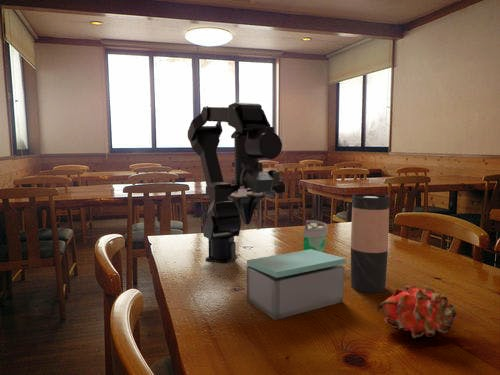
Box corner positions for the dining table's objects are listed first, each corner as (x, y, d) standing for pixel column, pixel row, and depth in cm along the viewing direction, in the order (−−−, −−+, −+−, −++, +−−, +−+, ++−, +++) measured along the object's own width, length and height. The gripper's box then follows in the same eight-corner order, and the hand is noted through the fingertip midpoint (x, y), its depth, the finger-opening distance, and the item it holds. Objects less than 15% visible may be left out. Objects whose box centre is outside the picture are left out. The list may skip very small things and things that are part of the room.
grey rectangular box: (246, 300, 77) (246, 266, 76) (310, 285, 85) (311, 254, 84) (275, 320, 68) (275, 281, 67) (342, 301, 76) (343, 267, 75)
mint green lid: (246, 265, 76) (246, 260, 76) (311, 253, 84) (310, 249, 84) (276, 277, 67) (276, 272, 67) (345, 263, 75) (345, 258, 75)
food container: (327, 270, 95) (328, 230, 94) (302, 268, 97) (303, 229, 95) (328, 256, 107) (328, 220, 106) (305, 254, 109) (306, 219, 107)
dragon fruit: (462, 351, 61) (381, 348, 65) (452, 303, 67) (379, 303, 71) (462, 323, 56) (375, 321, 60) (452, 274, 62) (373, 276, 66)
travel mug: (367, 296, 79) (370, 199, 77) (342, 284, 86) (344, 194, 83) (394, 289, 82) (398, 196, 80) (368, 278, 89) (370, 192, 87)
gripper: (226, 160, 78) (226, 235, 80) (300, 158, 87) (299, 226, 89) (204, 158, 88) (205, 226, 89) (273, 157, 97) (272, 218, 99)
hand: (246, 224), depth 91 cm, fingers closed
